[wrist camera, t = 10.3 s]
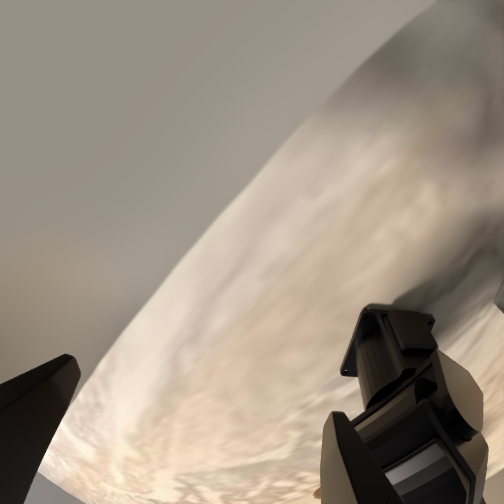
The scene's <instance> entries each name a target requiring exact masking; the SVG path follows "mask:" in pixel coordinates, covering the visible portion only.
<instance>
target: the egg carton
mask: <svg viewBox="0 0 504 504" xmlns="http://www.w3.org/2000/svg"><path fill="white" fill-rule="evenodd" d="M494 304H495V305H496V306H497V307H498V308H499V309H500V310H501V311H502V312H503V314H504V279H503V282H502V284H501V287H500V289H499V292H498V294H497V296H496V299H495V301H494Z"/></svg>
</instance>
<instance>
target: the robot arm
mask: <svg viewBox="0 0 504 504" xmlns="http://www.w3.org/2000/svg"><path fill="white" fill-rule="evenodd" d="M366 315H369V317H367V318H365V316H366ZM429 320H430V321H429ZM428 321H429V322H428ZM427 322H428V323H427ZM434 323H435V319H434V317H433V316H432V315H429V314H420V313H419V312H408V311H397V310H391V311H383V310H373V309H365V310H363V311H362V312H361V313H360V315H359V318H358V321H357V324H356V327H355V330H354V333H353V336H352V339H351V341H350V344H349V347H348V349H347V352H346V355H345V357H344V360H343V362H342V365H341V368H340V373H341V375H342V376H349V377H358V379H359V384H360V389H361V394H362V399H363V404H364V410H365V411H364V412H363V413H362V414H360V415H359V416H357V417H356V418H355V419H353V420H352V421H350V420H349V419H348V417H347V416H346V414H345V413H344V412H341V411H332V412H331V413H330V415H329V417H328V419H327V421H326V423H325V425H324V428H323V439H322V453H321V465H320V480H321V504H486V503H485V501H484V498H483V489H484V484H485V477H486V470H487V462H488V452H489V449H488V445H487V443H486V441H485V439H484V437H483V435H482V433H481V432H480V431H481V430H482V428H483V393H482V391H481V390H480V388H479V386H478V385H477V383H476V382H475V380H474V379H473V377H472V376H471V374H470V373H469V372H468V371H467V370H466V369H465V368H463V367H462V366H461V365H459V364H458V363H456V362H455V361H454V360H452V359H451V358H450V357H448V356H447V355H445V354H444V353H443V352H441V351H440V350H438V344H437V342H436V341H435V339H434V337H433V335H432V334H431V330H432V328H433V326H434ZM345 370H347V371H345ZM80 377H81V371H80V368H79V366H78V363H77V360H76V358H75V357H74V356H72V355H69V354H63V355H61V356H59V357H57V358H55V359H53V360H51V361H49V362H46V363H44V364H42V365H40V366H38V367H36V368H34V369H32V370H30V371H27V372H25V373H23V374H21V375H19V376H17V377H15V378H13V379H10V380H8V381H6V382H4V383H2V384H0V504H23V503H24V501H25V499H26V496H27V494H28V491H29V489H30V487H31V484H32V482H33V479H34V477H35V474H36V472H37V470H38V468H39V466H40V464H41V461H42V459H43V457H44V455H45V453H46V451H47V449H48V447H49V444H50V442H51V440H52V438H53V436H54V434H55V432H56V430H57V428H58V426H59V424H60V422H61V420H62V419H63V417H64V415H65V413H66V411H67V409H68V406H69V404H70V402H71V399H72V397H73V394H74V391H75V389H76V387H77V384H78V382H79V380H80Z"/></svg>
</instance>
